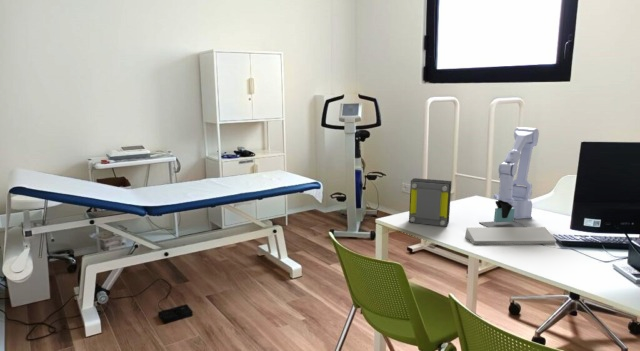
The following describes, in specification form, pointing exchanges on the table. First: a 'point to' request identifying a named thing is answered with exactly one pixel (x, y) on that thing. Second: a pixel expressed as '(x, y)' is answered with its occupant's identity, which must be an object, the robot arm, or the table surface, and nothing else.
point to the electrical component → (430, 201)
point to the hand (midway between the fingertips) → (503, 217)
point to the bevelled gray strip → (510, 235)
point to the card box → (499, 215)
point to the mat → (502, 224)
